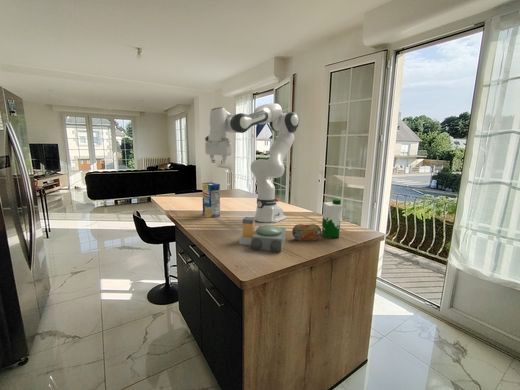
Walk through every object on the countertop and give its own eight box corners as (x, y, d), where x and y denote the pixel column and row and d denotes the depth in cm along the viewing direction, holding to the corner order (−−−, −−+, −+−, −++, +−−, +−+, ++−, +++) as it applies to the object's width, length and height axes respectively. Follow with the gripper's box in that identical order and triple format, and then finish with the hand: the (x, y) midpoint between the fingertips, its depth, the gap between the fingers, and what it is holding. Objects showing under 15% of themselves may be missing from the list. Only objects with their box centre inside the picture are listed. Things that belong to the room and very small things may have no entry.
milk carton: (341, 238, 139) (344, 201, 135) (324, 238, 138) (327, 201, 134) (335, 233, 147) (338, 198, 144) (319, 233, 147) (322, 198, 143)
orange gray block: (242, 242, 129) (242, 219, 127) (244, 239, 134) (245, 216, 132) (252, 243, 128) (252, 220, 126) (254, 240, 133) (254, 217, 131)
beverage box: (211, 218, 171) (210, 185, 167) (202, 214, 179) (202, 183, 175) (220, 216, 175) (219, 184, 171) (211, 213, 183) (211, 182, 179)
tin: (292, 240, 134) (293, 224, 132) (291, 238, 137) (292, 223, 135) (321, 240, 135) (322, 224, 134) (319, 238, 138) (320, 223, 137)
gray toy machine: (236, 248, 122) (236, 232, 120) (246, 234, 141) (246, 221, 140) (280, 252, 118) (281, 236, 117) (285, 238, 137) (286, 224, 136)
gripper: (234, 138, 138) (234, 164, 141) (212, 138, 153) (212, 162, 155) (224, 137, 134) (224, 164, 136) (203, 138, 148) (203, 162, 151)
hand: (218, 163), depth 146 cm, fingers open, 8 cm apart
